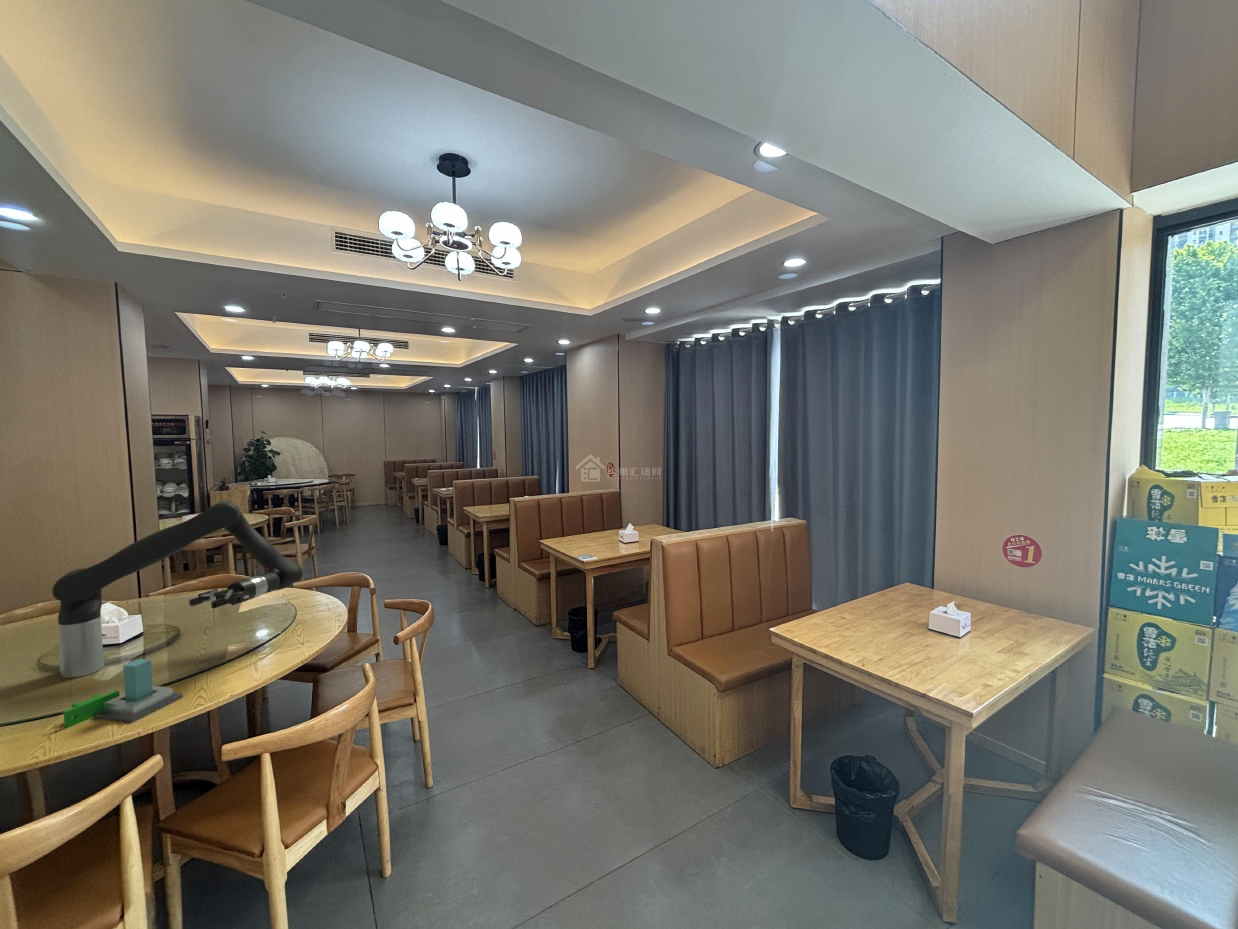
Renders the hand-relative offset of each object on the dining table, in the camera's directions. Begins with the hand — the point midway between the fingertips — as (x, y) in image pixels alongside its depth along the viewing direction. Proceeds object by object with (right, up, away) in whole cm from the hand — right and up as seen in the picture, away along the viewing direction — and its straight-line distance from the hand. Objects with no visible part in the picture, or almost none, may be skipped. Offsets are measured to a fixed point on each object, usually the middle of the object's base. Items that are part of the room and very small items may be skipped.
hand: (201, 604), depth 156 cm
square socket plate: (-3, -24, -17) cm, 30 cm away
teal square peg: (-3, -23, -17) cm, 29 cm away
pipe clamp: (-12, -25, -21) cm, 35 cm away
